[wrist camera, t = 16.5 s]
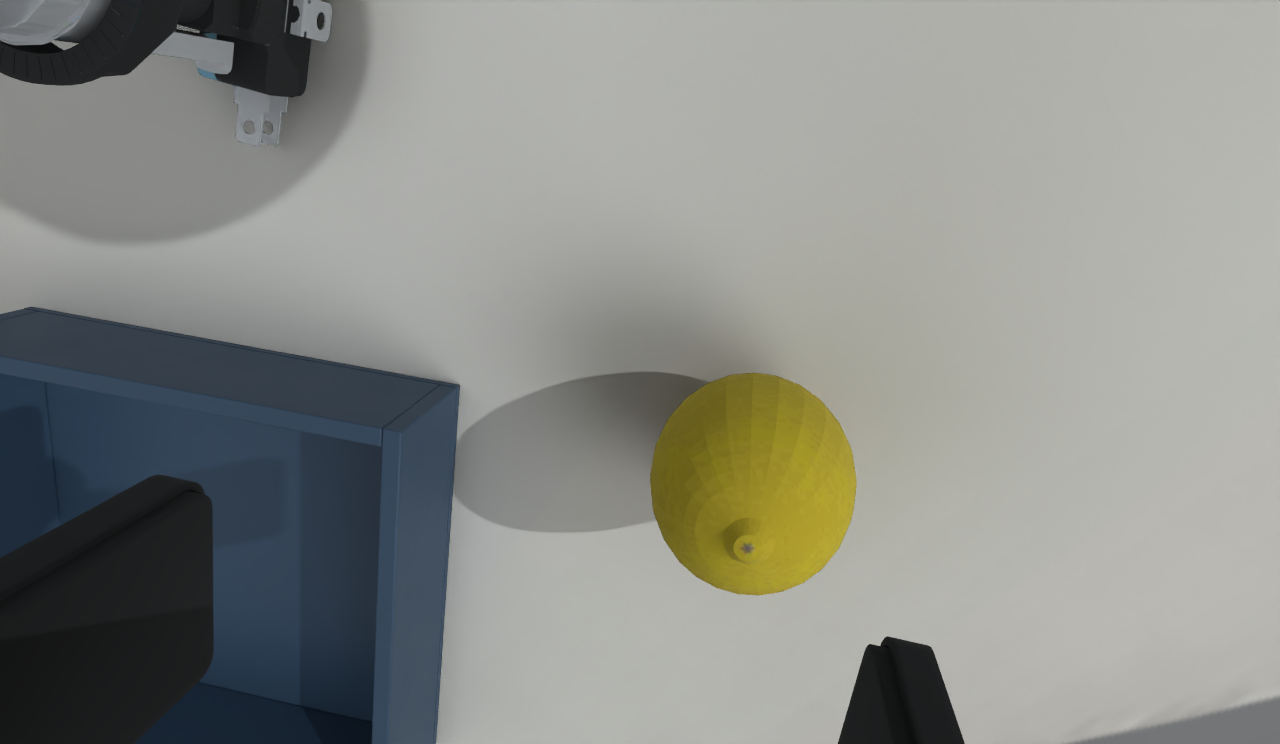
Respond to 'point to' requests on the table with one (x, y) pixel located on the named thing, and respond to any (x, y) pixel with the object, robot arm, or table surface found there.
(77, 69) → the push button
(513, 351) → the table surface
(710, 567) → the lemon
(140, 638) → the robot arm
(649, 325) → the table surface
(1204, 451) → the table surface
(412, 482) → the bin
